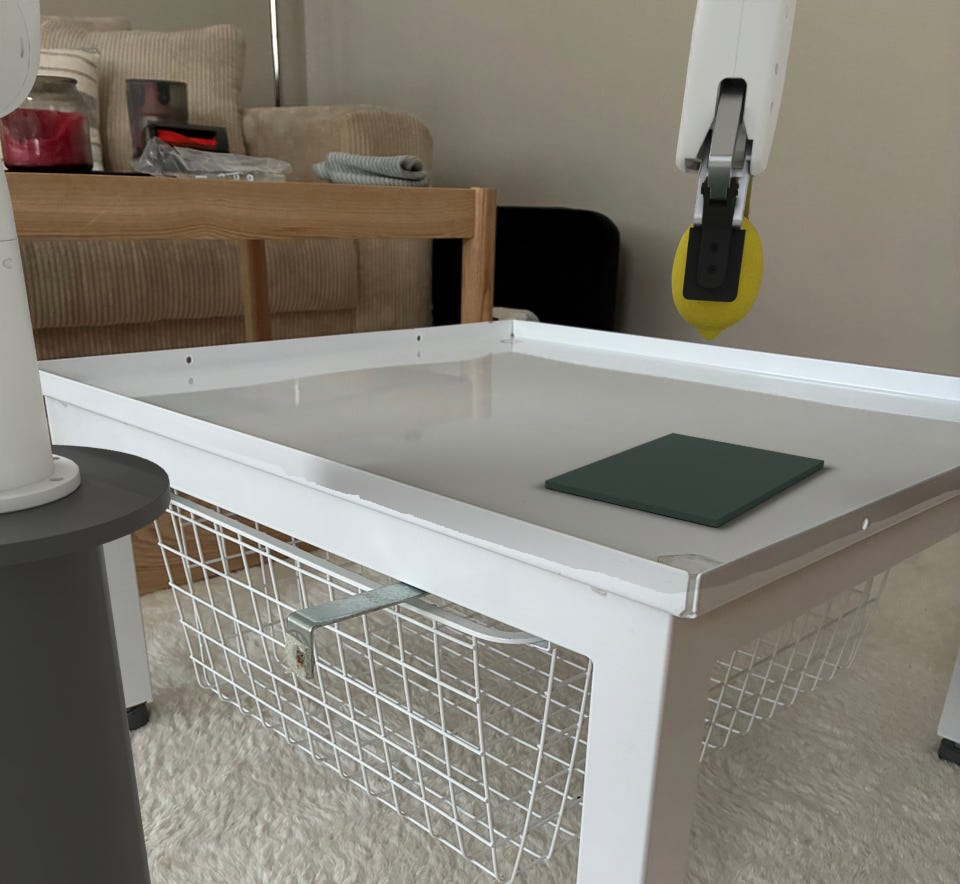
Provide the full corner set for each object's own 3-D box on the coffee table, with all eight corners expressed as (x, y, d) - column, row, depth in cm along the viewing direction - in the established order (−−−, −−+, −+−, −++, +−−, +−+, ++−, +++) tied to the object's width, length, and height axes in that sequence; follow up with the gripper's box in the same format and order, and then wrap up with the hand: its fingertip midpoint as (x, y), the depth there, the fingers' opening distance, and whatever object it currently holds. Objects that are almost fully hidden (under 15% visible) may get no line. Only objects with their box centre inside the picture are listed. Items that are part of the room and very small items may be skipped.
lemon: (753, 349, 60) (773, 205, 56) (661, 343, 61) (676, 202, 58) (752, 337, 65) (771, 204, 61) (668, 331, 66) (681, 201, 62)
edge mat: (717, 527, 57) (718, 519, 57) (544, 487, 63) (545, 480, 63) (823, 467, 70) (824, 460, 70) (671, 439, 76) (672, 432, 76)
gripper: (701, -21, 62) (670, 281, 70) (668, -87, 47) (633, 306, 55) (824, -23, 61) (778, 287, 68) (830, -93, 46) (770, 314, 53)
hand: (713, 292), depth 62 cm, fingers closed on lemon, 5 cm apart
